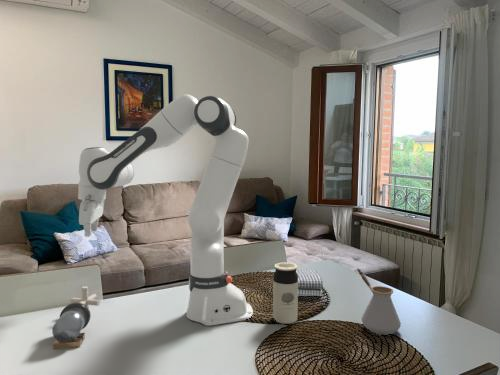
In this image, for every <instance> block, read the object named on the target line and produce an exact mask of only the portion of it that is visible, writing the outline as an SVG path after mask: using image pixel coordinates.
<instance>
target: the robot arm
mask: <svg viewBox="0 0 500 375" xmlns="http://www.w3.org/2000/svg"><path fill="white" fill-rule="evenodd" d="M236 123H237V116H236V113H235V111H234V110H233V108H232V107H231V106H230V104H229V103H227V102H226V101H225V100H223V99H222V98H221V97H218V96H215V95H206V96H204V97H202V98H200V99H199V100H198V98H197V97H194V96H193V95H191V94H189V93H187V94H182V95H180V96H178V97H176V98H175V99H174V100H172V101H170V103H168V104H167V105H165V106H164V107H163V108H162V109H161V110H159V111H158V112H157V113H156V114H155V115H154V116H153V117H152V118H151V119H150V120H148V121H147V122H146V124H144V125H143V126H142V127H141V128H140V129H139V130H137V131H136V132H135V133H133V134H132V135H131V136H129V137H128V138H127V139H125V141H124V142H122V143H120V145H118V146H117V147H115V148H114V149H113V150H112V151H111V152H110V151H108V150H107V149H106V148H105V147H101V146H96V147H93V146H92V147H87V148H84V149H82V150H81V153H80V155H79V156H80V157H79V165H78V174H79V181H78V187H77V188H78V191H77V192H78V193H77V194H78V195H77V199H78V200H80V204H79V210H78V212H79V213H78V214H79V215H78V223H79V225H81V226H83V230H84V237H91V236H92V232H97V231H98V225H99V219H100V218H101V217H102V216H103V214H104V208H105V200H106V199H107V198H106V197H107V189H112V188H117V187H121V186H125V185H128V184H130V183H131V182H132V180H133V178H134V176H135V170H134V166H133V165H132V163H133V162H134V161H135V160H137V159H138V158H139V157H140V156H142V155H143V154H145V153H147V152H150V151H153V150H157V149H161V148H167V147H170V146H171V145H173V144H175V143H176V142H178V141H179V140H181V139H182V138H183V137H184V136H185V135H186V134H188V133H189V132H190V131H191V130H193V129H194V128H196V127H201V128H202V129H203V130H205V131H206V132H207V133H208V134H210V135H211V136H213V138H214V144H213V149H212V150H211V153H210V156H209V158H208V161H207V165H206V168H205V171H204V173H203V176H202V178H201V180H200V183H199V186H198V189H197V192H196V194H195V196H194V198H193V201H192V204H191V207H190V209H189V212H188V215H187V224H188V226H189V228H190V230H191V232H190V233H191V237H190V253H189V255H190V256H189V257H190V260H189V262H190V272H189V276H188V289H189V291H190V292H189V298H188V299H189V300H188V305H187V310H186V312H185V315H186V318H188V319H189V320H191V321H193V322H197V323H201V324H203V325H205V326H207V327H210V326H216V325H217V326H218V325H221V324H229V323H235V322H240V321H241V322H242V321H247V320H246V319H248V320H250V319H249V318H251V316H252V315H253V316H254V309H253V306H252V305H251V304H250V303H249V302H247V300H246V296H245V294H244V292H243V290H241V289H240V288H238V287H237V286H235V285H234V284H233V283H232V282H233V277H232V276H231V275H230V274H229V272H228V271H225V270H224V266H225V265H224V263H225V262H224V261H225V260H224V256H225V255H224V254H225V253H224V251H225V249H224V246H225V240H224V237H225V236H224V235H225V234H224V233H225V217H226V216H227V215H226V214H227V212H228V208H229V206H230V204H231V200H232V197H233V194H234V191H235V189H236V186H237V183H238V181H239V177H240V174H241V172H242V169H243V167H244V164H245V160H246V157H247V153H248V147H249V144H250V143H249V141H250V140H249V136H248V134H247V133H246V132H245V131H243V130H242V129H240V128H238V127H236ZM253 316H252V317H253ZM251 319H252V318H251Z"/></svg>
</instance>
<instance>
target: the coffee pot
mask: <svg viewBox="0 0 500 375" xmlns="http://www.w3.org/2000/svg"><path fill="white" fill-rule="evenodd" d="M356 271H357V273H358V274H359V276H360V277H361V279H362V280H363V282H364V283H365V284H366V286H367V287H368V288H369V290H370V291H371V292H372V296H371V299H369V300H370V301H369V303H368V305H367V306H366V309H365V310H364V312H363V314H362V315H361V316H362V317H361V322H362V324H363V325H364V327H365V328H366V329H367V330H368V329H369V330H370V331H372V332H374V333H377V334H383V335H388V334H392V335H393V334H394V333H396V332H398V331H399V329H400V328H401V324H402V323H401V319H400V318H399V315H398V312H397V310H396V308H395V305H394V303H393V299H392V297H391V296H392V294H393V293H394V289H393V288H391V287H387V286H380V285H377V286H372V285H371V283H370V281H369V280H368V278H367V277H366V276H365V275H364V274H363V271H362V269H360V268H356V269H354V272H356ZM369 330H368V331H369ZM370 331H369V332H370ZM374 333H373V334H374ZM377 334H376V335H377ZM388 336H389V335H388Z"/></svg>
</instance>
